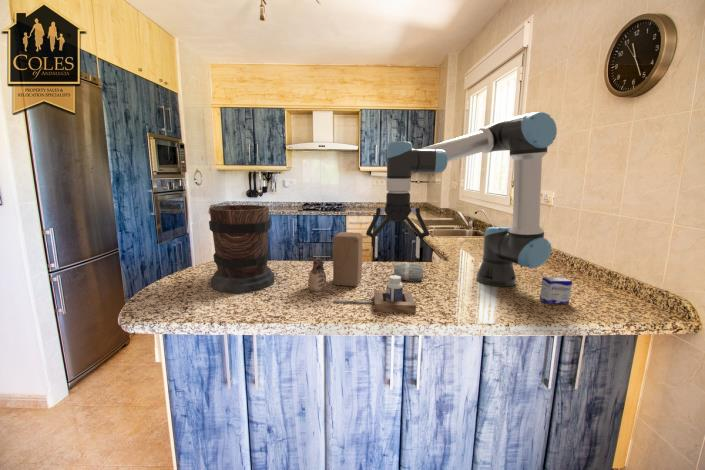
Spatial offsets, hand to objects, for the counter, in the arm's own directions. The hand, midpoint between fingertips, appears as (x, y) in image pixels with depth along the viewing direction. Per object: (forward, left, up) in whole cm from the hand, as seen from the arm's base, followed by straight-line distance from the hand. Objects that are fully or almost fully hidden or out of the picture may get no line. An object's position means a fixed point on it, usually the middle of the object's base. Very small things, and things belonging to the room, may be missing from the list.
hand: (396, 256), depth 108 cm
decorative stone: (-8, -30, -17) cm, 36 cm away
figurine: (+28, -13, -17) cm, 35 cm away
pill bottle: (0, 0, -17) cm, 17 cm away
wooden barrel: (+59, -20, -17) cm, 65 cm away
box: (-57, -7, -17) cm, 59 cm away
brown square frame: (+7, 0, -17) cm, 18 cm away
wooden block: (+17, -21, -17) cm, 32 cm away
